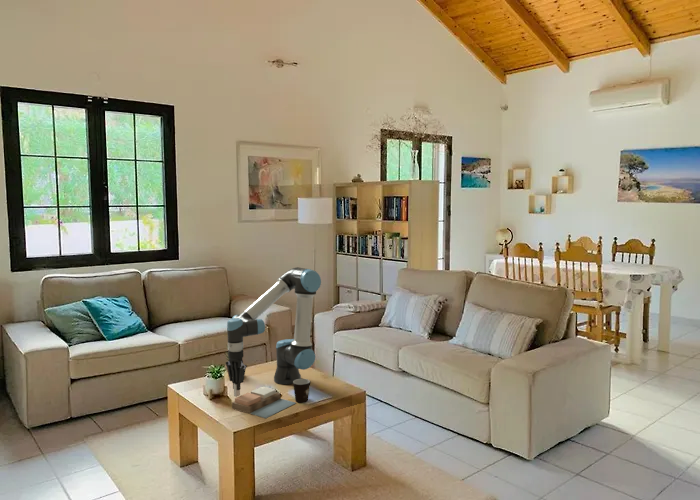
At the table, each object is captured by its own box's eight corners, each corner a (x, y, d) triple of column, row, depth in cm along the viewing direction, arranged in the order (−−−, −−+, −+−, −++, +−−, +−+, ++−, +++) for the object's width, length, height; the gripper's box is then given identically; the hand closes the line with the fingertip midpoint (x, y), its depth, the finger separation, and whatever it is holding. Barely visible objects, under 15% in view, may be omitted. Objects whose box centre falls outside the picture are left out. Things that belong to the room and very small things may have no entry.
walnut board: (263, 394, 286) (263, 388, 285) (280, 399, 279) (280, 393, 279) (232, 408, 268) (231, 402, 267) (249, 413, 261) (249, 407, 261)
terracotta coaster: (248, 396, 275) (247, 392, 275) (261, 400, 270) (260, 396, 270) (234, 402, 268) (234, 398, 267) (247, 406, 263) (247, 402, 262)
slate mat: (281, 399, 279) (281, 398, 279) (296, 403, 273) (296, 402, 273) (250, 413, 261) (250, 413, 261) (265, 418, 255) (265, 417, 255)
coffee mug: (298, 405, 271) (298, 385, 270) (290, 400, 278) (289, 381, 277) (318, 399, 278) (318, 380, 277) (309, 394, 285) (309, 376, 284)
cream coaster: (263, 389, 284) (263, 386, 284) (275, 393, 279) (275, 389, 279) (250, 395, 277) (250, 391, 276) (263, 398, 272) (263, 395, 271)
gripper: (220, 349, 271) (222, 395, 274) (239, 353, 264) (240, 400, 266) (232, 346, 277) (233, 390, 280) (250, 350, 270) (251, 396, 272)
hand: (237, 395), depth 273 cm, fingers closed
